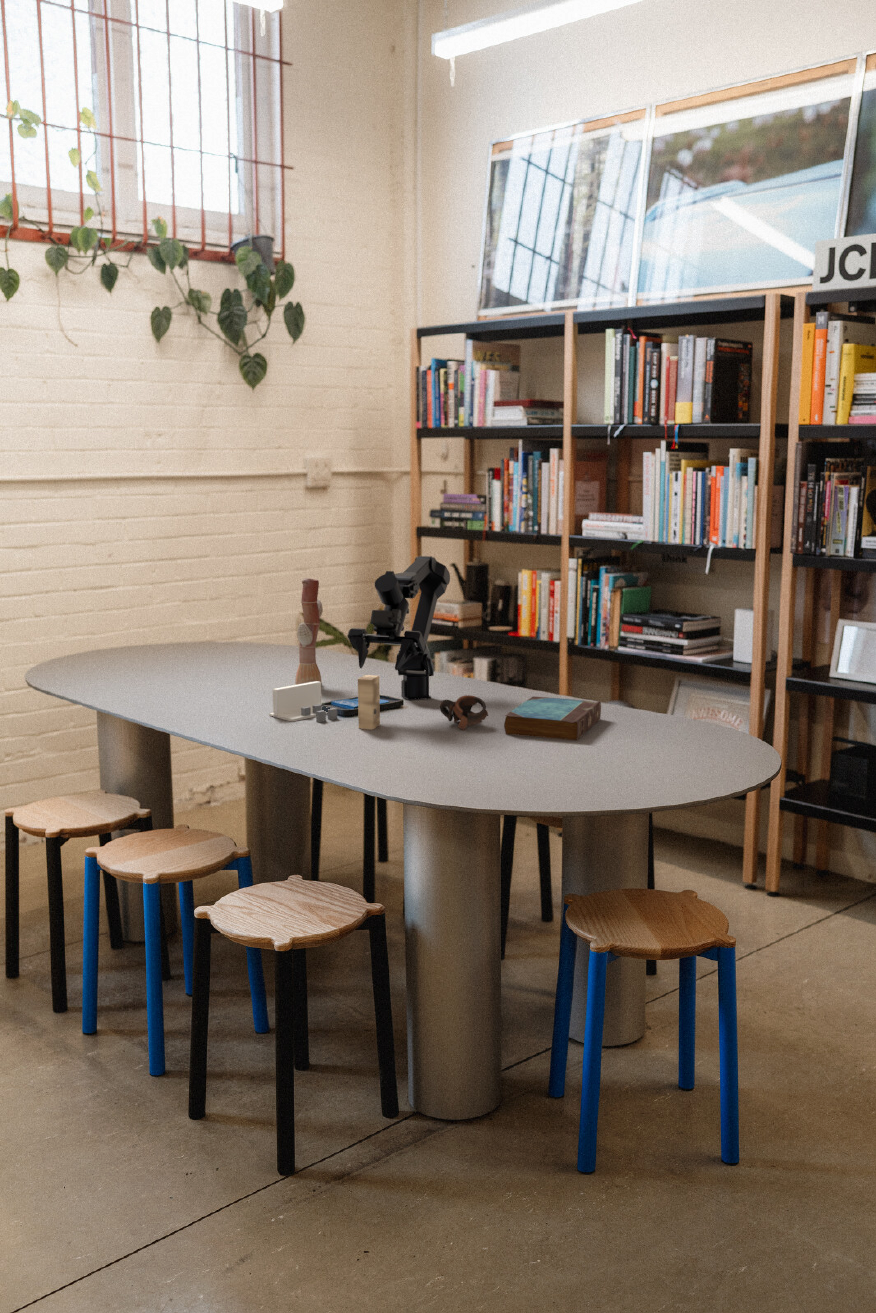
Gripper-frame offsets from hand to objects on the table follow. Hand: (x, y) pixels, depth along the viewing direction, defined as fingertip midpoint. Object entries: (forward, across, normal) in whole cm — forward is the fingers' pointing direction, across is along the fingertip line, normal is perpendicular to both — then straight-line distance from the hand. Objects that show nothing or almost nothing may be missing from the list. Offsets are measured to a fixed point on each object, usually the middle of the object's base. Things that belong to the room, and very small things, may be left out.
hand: (378, 668), depth 285 cm
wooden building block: (+14, 0, +5) cm, 15 cm away
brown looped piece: (+8, +21, +11) cm, 25 cm away
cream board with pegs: (+9, -18, +9) cm, 22 cm away
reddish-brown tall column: (-16, -34, +34) cm, 51 cm away
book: (+5, +42, +14) cm, 45 cm away
